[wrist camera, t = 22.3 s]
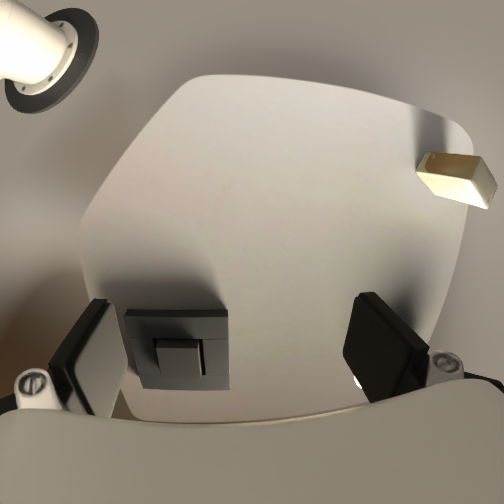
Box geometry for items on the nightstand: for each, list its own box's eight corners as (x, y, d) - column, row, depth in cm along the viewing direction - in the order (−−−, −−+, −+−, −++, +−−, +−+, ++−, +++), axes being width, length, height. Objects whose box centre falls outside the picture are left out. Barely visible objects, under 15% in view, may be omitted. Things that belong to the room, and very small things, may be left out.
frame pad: (144, 380, 43) (143, 388, 41) (127, 308, 38) (123, 315, 36) (229, 382, 44) (230, 390, 42) (227, 309, 39) (228, 316, 38)
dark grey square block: (164, 363, 42) (162, 377, 38) (159, 334, 40) (155, 347, 36) (201, 364, 42) (201, 378, 39) (198, 334, 40) (197, 348, 37)
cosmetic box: (445, 175, 37) (499, 187, 25) (434, 195, 38) (488, 211, 26) (424, 149, 35) (481, 154, 23) (413, 170, 36) (470, 180, 24)
